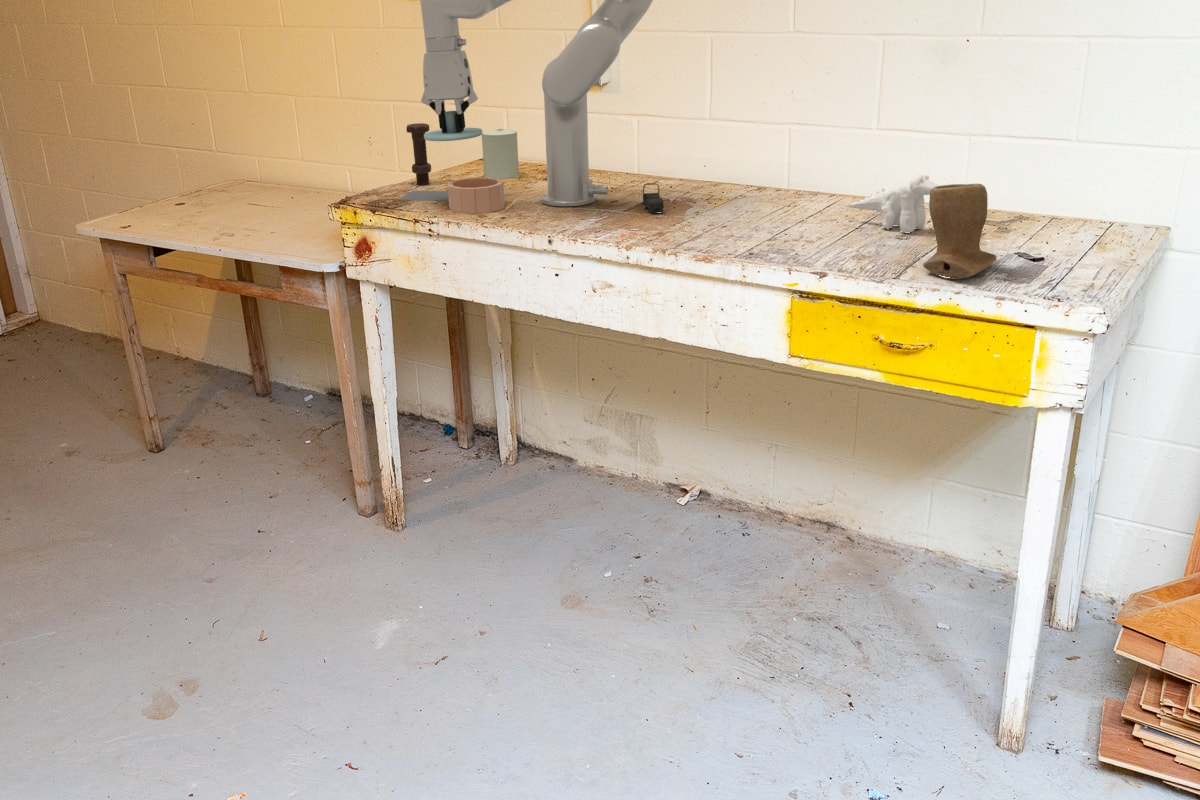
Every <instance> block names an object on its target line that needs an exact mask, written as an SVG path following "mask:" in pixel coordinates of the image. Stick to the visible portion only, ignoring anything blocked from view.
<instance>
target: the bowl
mask: <svg viewBox="0 0 1200 800" xmlns="http://www.w3.org/2000/svg"><path fill="white" fill-rule="evenodd" d="M446 187H447V191H448V199H449V200H448V208H449V210H450V211H451V212H453V213H458V214H465V215H466V214H471V215H472V214H475V215H476V214H477V215H478V214H485V213H488V214H489V213H493V212H496V211H500V210H501V211H502V210H503V211H505V209H506V208H504V207H505V206H506V204H505V187H504V181H503V180H502V179H495V178H484V177H468V178H467V177H466V178H460V179H456V180H451V181H450V182H448V183H447V186H446Z"/></svg>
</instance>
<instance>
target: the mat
mask: <svg viewBox="0 0 1200 800" xmlns="http://www.w3.org/2000/svg"><path fill="white" fill-rule="evenodd" d="M397 201H422V202H423V201H431V202H435V201H436V202H447V201H448V202H449V199H448V190H447V191H445V190H411V191H409V192H408V193H406V194H405V195H403V196H401V197H400V198H399V199H397Z"/></svg>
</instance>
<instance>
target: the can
mask: <svg viewBox="0 0 1200 800" xmlns="http://www.w3.org/2000/svg"><path fill="white" fill-rule="evenodd" d="M481 142H482V146H481V147H482V159H483V175H484V176H483V178H495V179H500V180H506V179H519V178H520V177H521V175H520V168H519V167H520V165H519V150H518V149H519V148H518V147H519V146H518V131H517V130H516V129H510V128H508V129H507V128H495V129H487V130H484V131H483V130H482V135H481Z"/></svg>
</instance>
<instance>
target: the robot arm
mask: <svg viewBox="0 0 1200 800" xmlns="http://www.w3.org/2000/svg"><path fill="white" fill-rule="evenodd" d="M419 1H420V11H421V18H422V26H423V27H422V28H423V34H424V43H425V50H426V52H424V53H423V61H422V62H423V64H422V77H423V79H422V80H423V94H422V97H421V100H420V101H421V103H422V104H423V105H425V106H428V107H430V108H431V109H432V110H433V111H434V112H435V114H436V115H438V123H439V124H438V125H439V130H441V129H442V133H446V132H447V131H446V122H445V114H444V112H447V110H446V102H445V101H452V100H454V106H455V111H456V114H455V124H456V132H457V133H460V132H462V131H464V128H466V119H465V112H466V110H467V109H468V108H469V107H470V105H471V104H473V103H476V101H478V99H479V97H478V95H477V93H475V90H474V84H473V79H472V74H471V68H470V63H469V59H468V56H467V53H466V51H465V50H462V49H463V48H462V47H463V46H467V39H466V38H462V37H461V35H460V29H459V28H460V27H459V19H466V20H477V19H480V18H483V17H484V16H486V15H487V14H489V13H491V12H493V11H494V10H496V9H498V8H500V7H501V6H503V5H504V4H507V3H508V2H510V1H512V0H419ZM653 1H654V0H604V1H603V2H602V3H601V5H599V6H598V8H597V9H595V12H594V13H593V14H592V15H591V16H590V17H589V18H588V19H587V20H586V21H585V22H584V23H583V24H582V25H580V27H579V29H578V31H577V32H576V34H575V35H574V36H573V38H572V39H571V40H570V41H569V43H568V44H567V45H566V47H564V49H563V50H562V51H561V52H560V54H559V55H558V56H557V57H556V58H554V59H552V60H551V61H550V62H549V63H548V64H547V65H546V67H545V68H544V71H543V73H542V80H541V86H542V91H543V100H544V101H543V103H544V105H543V106H544V127H545V129H544V130H545V132H544V133H545V134H544V135H545V155H546V158H545V159H546V177H547V192H546V193H544V194H543V195H542V196H541V202H542V204H543V205H544V204H545V205H548V206H552V207H553V206H554V207H578V206H586V205H590V204H593V203H595V202H596V201H597V195H608V194H609V187H608V185H605V184H595V183H593V179H592V178H590V168H589V167H590V165H589V131H588V130H589V129H588V128H589V127H588V125H589V123H588V121H589V120H588V93H589V91H590V90H591V89H592V88H593V86H595V85H596V83H597V82H598V81H599V80H600V78H601V77H603V75H604V74H605V73H606V72H607V71H608V69H609V68H610V67H611V65H612V64H613V63H614V62H615V60H616V59H617V57H618V56H619V53H620V50H621V45H622V44H623V43H624V41H625V40H626V38H627V37H628V36H629V35H630V34H631V33H632V31H633V30H635V28H636V26H637V25H638V23H639V22H640V21H641V20H642V19H643V17H644V16H645V15H646V13H647V12H648V10H649V8H650V6H651V5H652V3H653ZM467 97H468V98H467ZM466 98H467V99H466ZM464 99H465V100H464Z"/></svg>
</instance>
